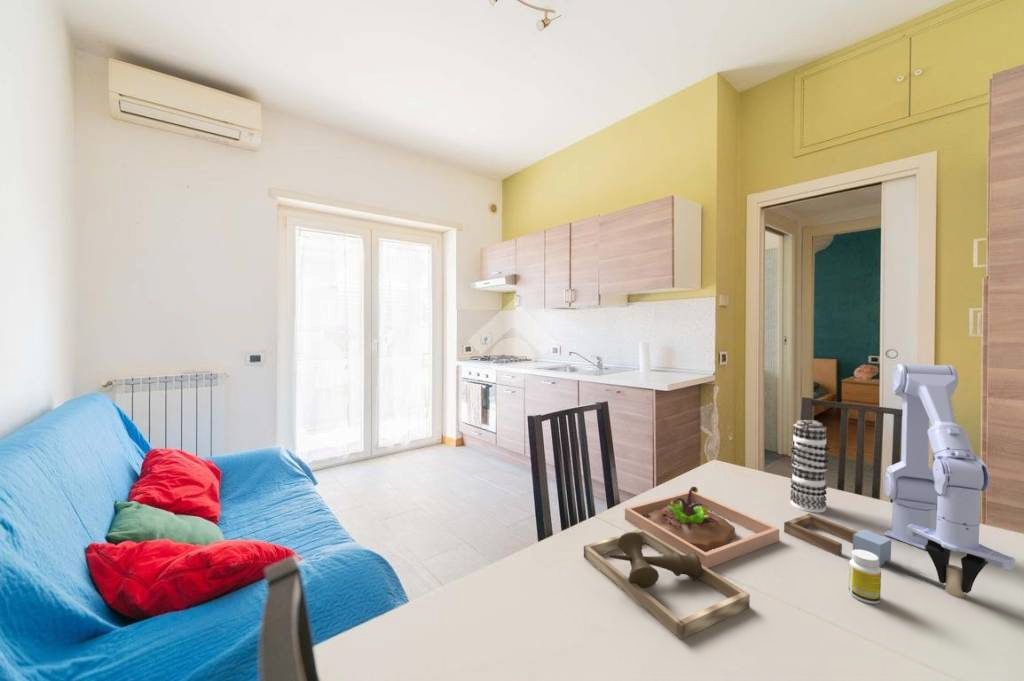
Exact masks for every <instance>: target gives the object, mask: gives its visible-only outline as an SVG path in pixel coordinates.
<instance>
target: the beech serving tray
mask: <svg viewBox="0 0 1024 681" xmlns="http://www.w3.org/2000/svg"><path fill="white" fill-rule="evenodd" d="M632 532H635V533H639V534H640V535H641V536H642V537H643V541H644V542H643V543H645V544H646V543H647V545H648V544H649V545H650V546H649V545H648V546H649V547H651V546H652V547H653V549H654V548H655V549H656V550H655V549H654V550H655V551H657V550H658V551H657V552H659V553H660V552H661V553H660V554H661V555H663V554H664V555H663V556H669V555H671V554H672V553H673V552H675V551H676V552H678V553H679V554H680V555H685V554H683V553H682V552H680V551H679V550H677V549H675V548H674V547H672V546H670V545H669V544H667V543H666V542H664V541H662V540H661V539H659V538H657V537H656V536H654V535H653V534H651V533H649V532H648V531H646V530H645V529H641V528H639V529H636V530H634V531H633V530H632ZM622 535H623V534H619V535H615V536H613V537H610V538H606V539H603V540H599V541H596V542H593V543H590V544H585V545H583V558H585V559H586V558H587V559H588V560H589V561H588V560H587V559H586V560H587V561H588V562H589V563H591V564H592V563H593V564H594V565H595V566H596V567H595V566H594V565H593V564H592V565H593V566H594V567H595V568H596V569H598V568H599V569H600V570H601V571H602V572H603V573H602V572H601V571H600V570H599V569H598V570H599V571H600V572H601V573H602V574H603V575H605V576H606V575H607V576H608V577H609V578H610V580H611V579H612V580H613V581H614V582H615V583H616V584H615V583H614V582H613V581H612V580H611V581H612V582H613V583H614V584H615V585H616V586H617V587H619V586H620V587H621V588H622V589H623V590H622V589H621V588H620V587H619V588H620V589H621V590H622V591H623V592H625V593H626V594H627V595H628V594H629V595H630V596H629V595H628V596H629V597H630V598H631V599H632V600H634V601H635V602H636V601H637V602H636V603H637V604H639V605H640V606H641V607H642V606H643V607H644V608H643V607H642V608H643V609H644V610H646V611H647V612H648V611H649V612H650V613H651V614H650V613H649V612H648V613H649V614H650V615H651V616H652V617H654V618H655V619H656V620H657V621H658V622H660V623H661V624H662V625H663V624H664V626H665V627H666V628H667V629H668V630H669V631H670V632H671V633H673V634H674V635H675V636H676V637H677V636H678V637H677V638H678V639H680V640H684V639H685V638H687V637H689V636H692V635H693V634H696V633H698V632H700V631H702V630H704V629H708V628H709V627H711V626H713V625H714V624H715V625H716V624H717V623H719V622H721V621H723V620H725V618H726V619H727V618H729V617H732V616H733V615H736V614H738V613H740V612H742V611H744V610H746V609H749V608H750V602H751V600H750V593H748V592H747V591H745V590H743V589H742V588H740V587H739V586H737V585H735V584H734V583H733V582H730V581H729V580H727V579H725V578H724V577H722V576H721V575H719V574H717V573H716V572H714V571H713V570H711V569H709V568H706V567H705V566H703V565H702V573H701V576H700V577H699V578H698V579H700V580H701V581H703V582H704V583H706V584H707V585H709V586H710V587H712V588H714V589H715V590H716V591H718V592H720V593H721V594H722V595H724V596H725V597H727V598H726V599H724V600H722V601H720V602H718V603H716V604H712V605H711V606H709V607H706V608H704V609H702V610H700V611H697V612H695V613H693V614H691V615H688V616H686V617H684V618H679V617H678V616H677V615H675V614H674V613H673V612H672V611H670V610H669V609H668V608H667V607H666V606H664V605H663V604H662V603H660V602H659V601H658V600H656V598H654V597H653V596H652V595H650V594H649V593H648V592H647V591H646V590H645V589H642V588H640V587H639V586H638V585H637V584H635V583H629V581H628V579H629V576H627V575H626V574H624V573H623V572H622V571H621V570H619V569H618V568H617V567H616V566H614V565H613V564H612V563H610V562H609V561H608V560H607V559H606V558H604V557H603V556H602V554H601V553H603V554H605V553H604V552H606V553H609V552H612V551H611V550H613V551H615V549H616V550H618V548H619V547H618V540H619V538H620V537H621V536H622ZM652 547H651V548H652ZM608 551H609V552H608ZM599 554H600V555H599ZM607 576H606V577H607ZM608 577H607V578H608ZM609 578H608V579H609ZM731 615H732V616H731Z"/></svg>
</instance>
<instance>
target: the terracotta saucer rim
mask: <svg viewBox="0 0 1024 681" xmlns="http://www.w3.org/2000/svg"><path fill="white" fill-rule="evenodd" d="M688 493H689V491H685V492H682V493H679V494H678V493H677V494H674V495H670V496H666V497H662V498H658V499H655V500H651V501H647V502H643V503H639V504H636V505H632V506H627V507H625V508H624V519H625V520H626V521H627V522H629V523H631V524H633V525H634V526H636V527H638V528H639V529H645V530H646V531H648V532H649V533H651V534H653V535H654V536H656V537H657V538H659V539H661V540H662V541H664V542H666V543H667V544H669V545H670V546H672V547H674V548H675V549H677V550H679V551H680V552H682V553H683V554H685V555H688V553H690V552H694V553H696V554H697V556H698V557H699V559H700V561H701V565H703V566H705V567H706V568H708V569H709V568H712V567H715V566H717V565H721V564H722V563H726V562H728V561H730V560H733V559H737V558H738V556H739V557H742V556H744V555H746V553H747V554H750V553H752V552H754V551H757V550H760V549H762V548H765V547H767V546H770V545H772V544H775V543H778V542H780V528H778V527H776V526H773V525H771V524H770V523H767V522H765V521H762V520H760V519H757V518H756V517H753V516H750V515H748V514H747V513H746V514H745V513H744V512H741V511H739V510H737V509H736V508H735V509H734V508H732V507H730V506H728V505H725V504H723V503H721V502H719V501H716V500H714V499H712V498H710V497H707V496H705V495H703V494H701V493H698V492H697V493H695V492H693V491H692V494H691V496H692V497H691V499H692V500H691V501H692V503H693V504H694V503H698V502H700V503H703V504H705V505H706V506H707V508H708V511H709V512H711V513H713V514H716V513H717V514H716V515H717V516H720V515H721V516H720V517H722V516H723V517H722V518H724V519H727V520H729V521H731V522H734V523H736V524H737V525H740V526H742V527H744V528H746V529H748V530H751V531H752V532H755V533H756V534H753V535H750V536H747V537H744V538H742V539H738V540H736V541H733V542H729V544H727V545H724V546H722V547H719V548H716V549H713V550H711V551H708V552H704V551H702V550H701V549H699V548H697V547H695V546H694V545H692V544H690V543H688V542H687V541H685V540H683V539H682V538H680V537H678V536H676V535H675V534H673V533H671V532H669V531H668V530H666V529H664V528H663V527H661V526H659V525H657V524H656V523H654V522H652V521H650V520H649V519H647V518H648V517H646V516H648V515H647V514H648V513H651V512H654V510H661V509H663V508H664V507H666V506H668V505H669V506H670V505H671V504H670V503H671V501H673V500H675V499H676V498H682V499H684V500H685V502H686V503H687V498H688ZM676 504H678V505H680V500H677V501H676ZM700 506H701V505H698V507H700ZM643 515H645V516H643Z"/></svg>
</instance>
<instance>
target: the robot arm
mask: <svg viewBox="0 0 1024 681" xmlns="http://www.w3.org/2000/svg"><path fill="white" fill-rule="evenodd" d="M958 384H959V375H958V371H957V370H956V368H955V367H954V366H953V365H951V364H945V365H943V364H942V365H939V364H935V365H934V364H911V363H910V364H909V363H908V364H907V363H906V364H905V363H898V364H896V365H895V367H894V369H893V371H892V391H893V392H892V393H893V395H895V396H898V397H900V398H901V402H902V413H901V414H902V415H901V416H902V417H901V418H902V421H901V422H902V423H901V461H899V462H896V463H894V464H891V465H889V466H887V467H886V470H885V476H884V480H883V487H884V488H883V489H884V494H886V496H887V497H888V498H889V499H890V500H892V509H891V510H892V514H891V516H892V517H891V529H888V530H887V531H885V532H883V534H884V536H886V537H889V538H892V539H895V540H897V541H899V542H904V543H906V544H908V545H911V546H913V547H916V548H920V549H922V550H925V551H926V552H927V554H928V555H929V557H930V559H931V561H932V562H933V563H932V564H934V567H935V570H936V573H937V577H938V582H939V583H942V584H944V585H945V583H946V565H950V560H951V559H950V558H951V551H953V552H959V553H961V554H965V555H966V556H963V557H961V559H960V563H961V568H962V571H963V579H962V592H965V594H969V593H970V592H971V591H972V589H973V585H974V583H975V580H976V579H977V577H978V575H979V574H980V573H981V572H982V570H983V569H984V568H985V567H986V565H988V564H989V563H990V564H992V565H996V566H999V567H1001V568H1002V569H1003V570H1006V571H1009V572H1011V571H1013V570H1015V565H1016V564H1015V562H1016V561H1015V560H1016V559H1015V557H1012V556H1010V555H1007V554H1004V553H1001V552H999V551H997V550H994V549H993V548H990V547H987V546H985V545H983V544H980V522H981V521H980V519H981V500H982V499H981V498H982V492H986V491H987V490H988V489H989V486H990V473H989V470H988V467H987V464H986V463H985V462H984V461H983V460H982V459H981V457H980V455H978V454H977V455H976V454H975V453H974V450H973V446H972V443H971V442H970V439H969V436H968V432H967V430H966V429H965V428H964V427H963V426H961V425H958V424H957V421H956V417H955V411H954V407H953V403H952V396H953V395H954V394H955V391H956V389H957V387H958ZM930 424H931V426H930ZM930 447H931V450H932V453H933V457H934V460H933V464H932V468H931V467H930V466H929V460H930V459H929V456H930V454H929V453H930V452H929V451H930V450H929V448H930Z"/></svg>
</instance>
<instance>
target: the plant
mask: <svg viewBox="0 0 1024 681" xmlns="http://www.w3.org/2000/svg"><path fill="white" fill-rule="evenodd" d="M692 491H693V492H695V493H698V491H699V488H698V487H696V486H692V487H690V489H689V490H688V492H689V493H688V498H687V503H686V502H685V500H684V499H682V498H676V499H675V500H673V501H671V503H670V504H671V505H670V506H669V505H668V506H666V507H664V508H663V509H661V510H654V512H651V513H648V515H647V517H646V518H647V519H649V520H650V521H652V522H654V523H656V524H657V525H659V526H661V527H663V528H664V529H666V530H668V531H669V532H671V533H673V534H675V535H676V536H678V537H680V538H682V539H683V540H685V541H687V542H688V543H690V544H692V545H694V546H695V547H697V548H699V549H701V550H702V551H704V552H708V551H710V550H712V549H716V548H719V547H722V546H724V545H727V544H730V543H731V541H732V540H733V539H734V538H735V537H736V528H735V527H734V526H733V525H732V524H730V523H729V522H728V521H727V520H726V518H724V517H722V516H720V515H718V514H716V513H714V512H711V511H709V510H708V508H707V506H706V505H705V504H703V503H700V502H698V503H693V502H692V501H691V500H692V499H691V497H692V496H691V494H692ZM677 500H680V505H678V504H676V501H677ZM699 505H701V506H699ZM697 506H698V507H697Z"/></svg>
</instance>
